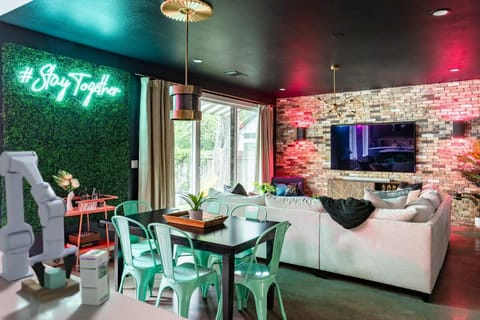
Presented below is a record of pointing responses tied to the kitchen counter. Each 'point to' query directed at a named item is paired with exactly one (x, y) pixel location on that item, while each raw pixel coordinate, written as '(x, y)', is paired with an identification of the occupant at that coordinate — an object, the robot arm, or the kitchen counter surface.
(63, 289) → the pocket plate
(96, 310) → the kitchen counter surface
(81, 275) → the syrup box
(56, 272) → the teal block
